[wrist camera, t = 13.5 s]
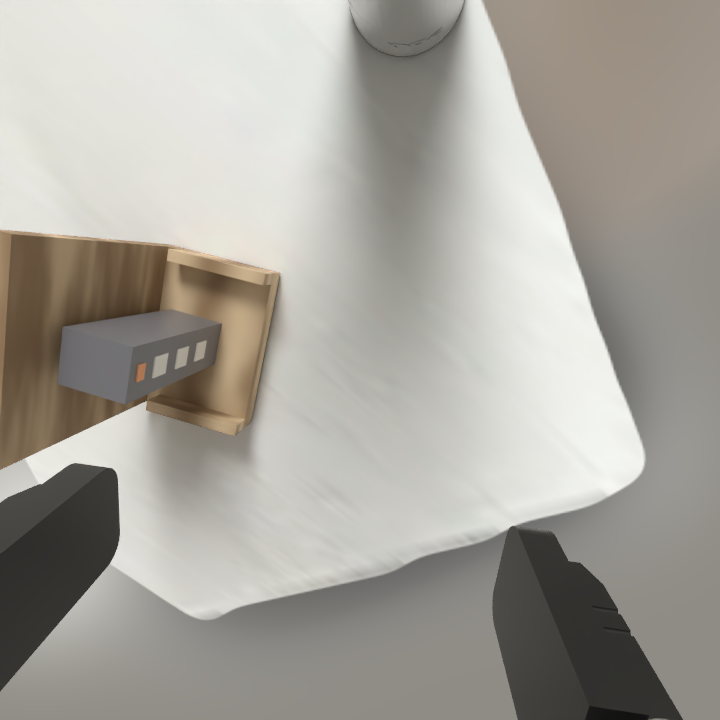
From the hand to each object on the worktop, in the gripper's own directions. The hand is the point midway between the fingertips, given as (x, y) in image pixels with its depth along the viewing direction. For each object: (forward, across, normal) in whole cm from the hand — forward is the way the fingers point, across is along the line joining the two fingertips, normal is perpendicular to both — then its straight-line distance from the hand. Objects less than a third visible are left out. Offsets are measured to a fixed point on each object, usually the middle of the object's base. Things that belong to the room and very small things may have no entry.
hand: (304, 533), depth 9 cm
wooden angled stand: (+34, +15, +6) cm, 38 cm away
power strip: (+33, +16, +5) cm, 37 cm away
